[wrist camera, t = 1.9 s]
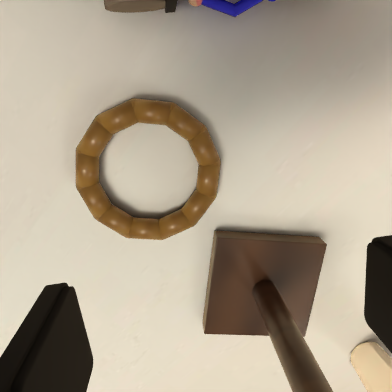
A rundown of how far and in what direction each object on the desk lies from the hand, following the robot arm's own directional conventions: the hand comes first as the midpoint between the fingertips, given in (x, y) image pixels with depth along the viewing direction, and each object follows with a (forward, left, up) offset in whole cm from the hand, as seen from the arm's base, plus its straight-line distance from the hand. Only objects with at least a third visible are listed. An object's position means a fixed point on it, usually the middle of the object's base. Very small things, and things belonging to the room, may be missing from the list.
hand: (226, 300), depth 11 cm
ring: (-3, 0, -15) cm, 16 cm away
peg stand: (+7, -9, -16) cm, 20 cm away
